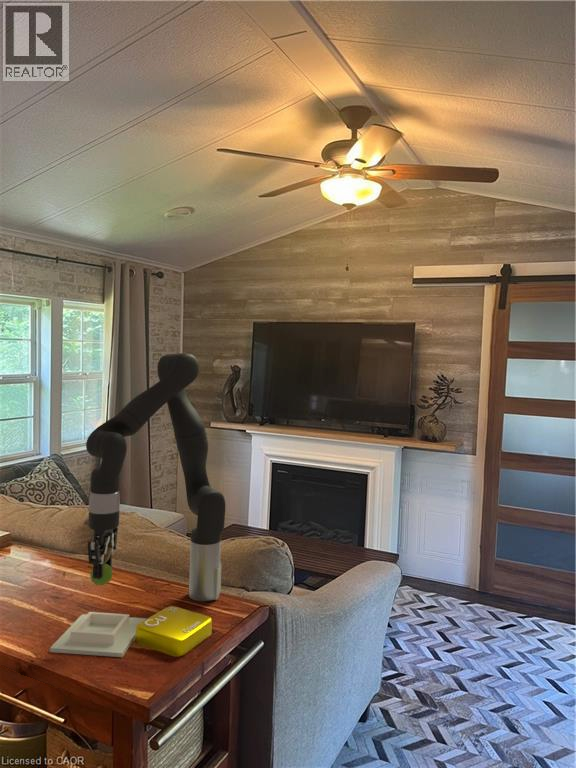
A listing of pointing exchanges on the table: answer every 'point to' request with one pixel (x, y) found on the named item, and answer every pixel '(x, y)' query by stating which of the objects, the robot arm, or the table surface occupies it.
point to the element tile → (173, 631)
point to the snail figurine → (104, 570)
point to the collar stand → (98, 635)
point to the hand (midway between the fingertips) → (102, 573)
